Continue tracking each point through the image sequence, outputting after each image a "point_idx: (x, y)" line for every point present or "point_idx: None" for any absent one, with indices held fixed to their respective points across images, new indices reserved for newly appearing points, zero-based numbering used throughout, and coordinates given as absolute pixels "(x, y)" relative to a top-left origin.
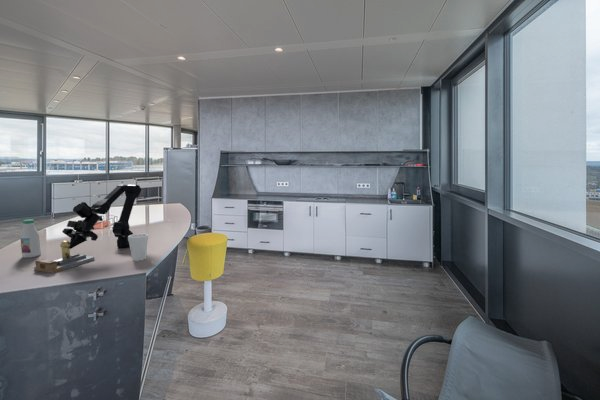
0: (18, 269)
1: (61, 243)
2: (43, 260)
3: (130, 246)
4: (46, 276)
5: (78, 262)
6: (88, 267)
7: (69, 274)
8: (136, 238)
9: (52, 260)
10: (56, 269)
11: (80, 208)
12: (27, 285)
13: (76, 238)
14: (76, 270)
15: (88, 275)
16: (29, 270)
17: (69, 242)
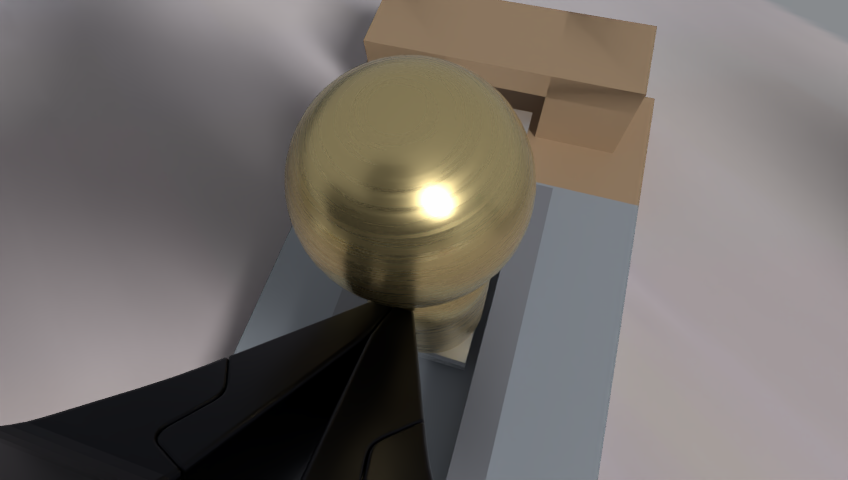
0: (844, 129)
1: (445, 61)
2: (553, 42)
3: None
4: (372, 11)
5: (258, 310)
6: (108, 240)
7: (203, 61)
8: None
9: (431, 51)
10: None
11: None
12: None
13: (46, 427)
14: (194, 150)
15: (28, 57)
16: (685, 113)
17: (300, 213)
